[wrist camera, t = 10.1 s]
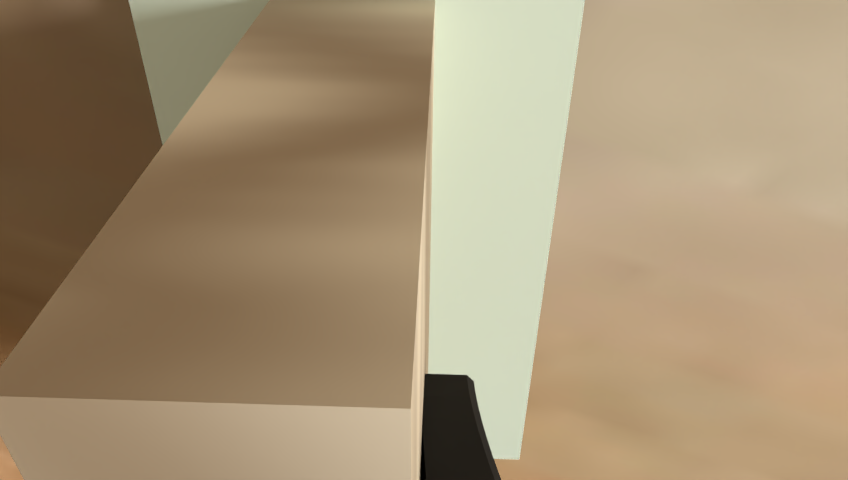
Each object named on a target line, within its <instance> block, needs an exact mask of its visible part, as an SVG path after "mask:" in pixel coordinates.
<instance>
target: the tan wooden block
mask: <svg viewBox="0 0 848 480" xmlns="http://www.w3.org/2000/svg"><path fill="white" fill-rule="evenodd" d="M434 38H435V0H269V2H268V3H267V4H266V6H265V7H264V8H263V10H262V11H261V12H260V14H259V15H258V17H257V18H256V19H255V21H254V22H253V23H252V25H251V26H250V27H249V29H248V30H247V31H246V33H245V34H244V36H243V37H242V38H241V40H240V41H239V42H238V44H237V45H236V46H235V48H234V49H233V51H232V52H231V53H230V55H229V56H228V57H227V59H226V60H225V61H224V63H223V64H222V66H221V67H220V68H219V70H218V71H217V72H216V74H215V75H214V76H213V78H212V79H211V81H210V82H209V83H208V85H207V86H206V87H205V89H204V90H203V91H202V93H201V94H200V96H199V97H198V98H197V100H196V101H195V102H194V104H193V105H192V106H191V108H190V109H189V111H188V112H187V113H186V115H185V116H184V117H183V119H182V120H181V121H180V123H179V124H178V126H177V127H176V128H175V130H174V131H173V132H172V134H171V135H170V136H169V138H168V139H167V140H166V142H165V143H164V145H163V146H162V147H161V149H160V150H159V151H158V153H157V154H156V155H155V157H154V158H153V160H152V161H151V162H150V164H149V165H148V166H147V168H146V169H145V170H144V172H143V173H142V175H141V176H140V177H139V179H138V180H137V181H136V183H135V184H134V185H133V187H132V188H131V190H130V191H129V192H128V194H127V195H126V196H125V198H124V199H123V200H122V202H121V203H120V205H119V206H118V207H117V209H116V210H115V211H114V213H113V214H112V215H111V217H110V218H109V220H108V221H107V222H106V224H105V225H104V226H103V228H102V229H101V230H100V232H99V233H98V235H97V236H96V237H95V239H94V240H93V241H92V243H91V244H90V245H89V247H88V248H87V249H86V251H85V252H84V254H83V255H82V256H81V258H80V259H79V260H78V262H77V263H76V264H75V266H74V267H73V269H72V270H71V271H70V273H69V274H68V275H67V277H66V278H65V279H64V281H63V282H62V284H61V285H60V286H59V288H58V289H57V290H56V292H55V293H54V294H53V296H52V297H51V299H50V300H49V301H48V303H47V304H46V305H45V307H44V308H43V309H42V311H41V312H40V314H39V315H38V316H37V318H36V319H35V320H34V322H33V323H32V324H31V326H30V327H29V329H28V330H27V331H26V333H25V334H24V335H23V337H22V338H21V339H20V341H19V342H18V344H17V345H16V346H15V348H14V349H13V350H12V352H11V353H10V354H9V356H8V357H7V358H6V360H5V361H4V363H3V364H2V365H1V367H0V435H1V437H2V439H3V441H4V443H5V445H6V447H7V449H8V450H9V452H10V454H11V456H12V458H13V460H14V462H15V464H16V466H17V467H18V469H19V471H20V473H21V475H22V477H23V479H24V480H422V419H423V398H424V379H425V374H428V357H429V304H430V251H431V198H432V144H433V91H434Z"/></svg>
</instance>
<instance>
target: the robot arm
mask: <svg viewBox="0 0 848 480" xmlns="http://www.w3.org/2000/svg"><path fill="white" fill-rule="evenodd" d="M422 480H501V478H500V475H499V473H498V470H497V467H496V464H495V461H494V458H493V455H492V452H491V449H490V446H489V443H488V440H487V437H486V433H485V430H484V426H483V423H482V419H481V415H480V411H479V407H478V402H477V398H476V393H475V386H474V381H473V380H472V379H471V378H470V377H469V376H467V375H453V374H425V379H424V398H423V419H422Z"/></svg>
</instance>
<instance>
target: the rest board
mask: <svg viewBox="0 0 848 480" xmlns="http://www.w3.org/2000/svg"><path fill="white" fill-rule="evenodd" d="M268 2H269V0H129V5H130V9H131V13H132V17H133V22H134V26H135V30H136V34H137V39H138V43H139V47H140V51H141V56H142V60H143V64H144V68H145V73H146V77H147V81H148V86H149V90H150V94H151V98H152V103H153V107H154V111H155V115H156V120H157V124H158V128H159V132H160V137H161V141H162V145H164V143H165V142H166V140H167V139H168V138H169V136H170V135H171V134H172V132H173V131H174V130H175V128H176V127H177V126H178V124H179V123H180V121H181V120H182V119H183V117H184V116H185V115H186V113H187V112H188V111H189V109H190V108H191V106H192V105H193V104H194V102H195V101H196V100H197V98H198V97H199V96H200V94H201V93H202V91H203V90H204V89H205V87H206V86H207V85H208V83H209V82H210V81H211V79H212V78H213V76H214V75H215V74H216V72H217V71H218V70H219V68H220V67H221V66H222V64H223V63H224V61H225V60H226V59H227V57H228V56H229V55H230V53H231V52H232V51H233V49H234V48H235V46H236V45H237V44H238V42H239V41H240V40H241V38H242V37H243V36H244V34H245V33H246V31H247V30H248V29H249V27H250V26H251V25H252V23H253V22H254V21H255V19H256V18H257V17H258V15H259V14H260V12H261V11H262V10H263V8H264V7H265V6H266V4H267V3H268ZM584 2H585V0H435V38H434V91H433V144H432V198H431V251H430V304H429V357H428V374H453V375H467V376H469V377H470V378H471V379H472V380H473V381H474V386H475V393H476V398H477V402H478V407H479V411H480V415H481V419H482V423H483V426H484V430H485V433H486V437H487V440H488V443H489V446H490V449H491V452H492V455H493V458H494V459H519V458H520V451H521V444H522V437H523V430H524V423H525V416H526V409H527V402H528V395H529V388H530V381H531V374H532V367H533V360H534V353H535V346H536V339H537V332H538V325H539V318H540V311H541V304H542V297H543V290H544V283H545V276H546V269H547V262H548V255H549V248H550V241H551V234H552V227H553V220H554V213H555V206H556V199H557V192H558V185H559V178H560V171H561V164H562V157H563V150H564V143H565V136H566V129H567V122H568V115H569V108H570V101H571V93H572V86H573V79H574V72H575V65H576V58H577V51H578V44H579V37H580V30H581V23H582V16H583V9H584Z"/></svg>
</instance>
